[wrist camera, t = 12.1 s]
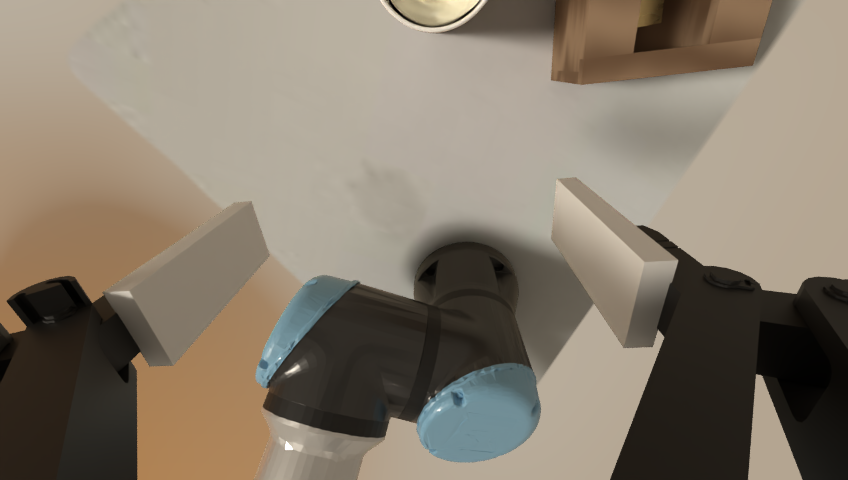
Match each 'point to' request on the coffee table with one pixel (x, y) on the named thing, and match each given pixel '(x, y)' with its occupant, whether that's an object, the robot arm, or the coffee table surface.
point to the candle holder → (433, 13)
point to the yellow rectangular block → (650, 12)
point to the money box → (653, 38)
